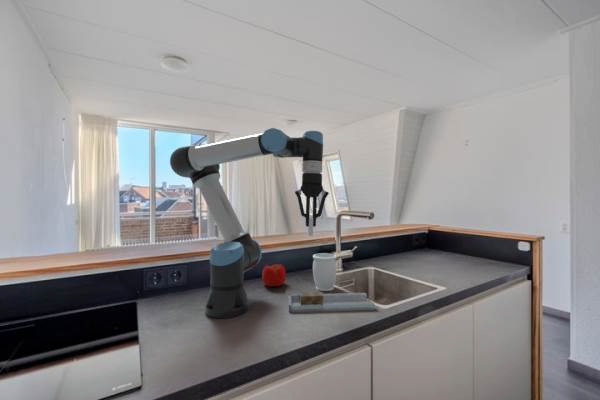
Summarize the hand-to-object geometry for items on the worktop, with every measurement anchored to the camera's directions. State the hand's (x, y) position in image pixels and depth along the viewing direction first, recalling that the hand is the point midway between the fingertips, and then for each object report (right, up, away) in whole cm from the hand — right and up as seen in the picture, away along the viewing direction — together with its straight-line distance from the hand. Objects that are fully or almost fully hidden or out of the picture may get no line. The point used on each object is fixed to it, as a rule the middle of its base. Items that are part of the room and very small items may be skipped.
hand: (310, 235), depth 106 cm
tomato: (-16, -26, +21) cm, 37 cm away
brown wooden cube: (+2, -25, -4) cm, 25 cm away
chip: (-2, -25, -5) cm, 25 cm away
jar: (+7, -26, +15) cm, 30 cm away
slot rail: (+7, -26, -4) cm, 27 cm away
